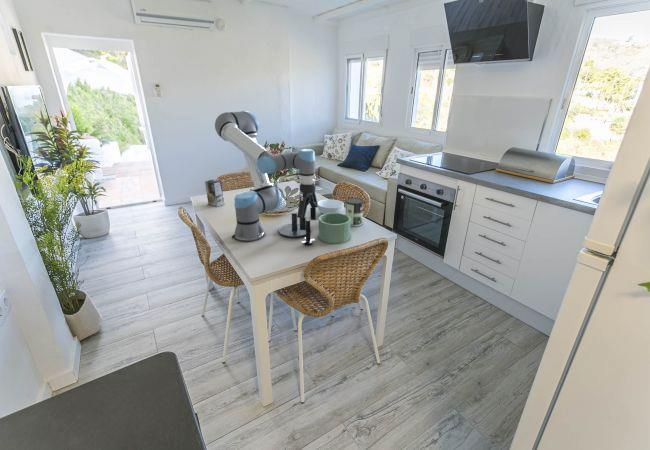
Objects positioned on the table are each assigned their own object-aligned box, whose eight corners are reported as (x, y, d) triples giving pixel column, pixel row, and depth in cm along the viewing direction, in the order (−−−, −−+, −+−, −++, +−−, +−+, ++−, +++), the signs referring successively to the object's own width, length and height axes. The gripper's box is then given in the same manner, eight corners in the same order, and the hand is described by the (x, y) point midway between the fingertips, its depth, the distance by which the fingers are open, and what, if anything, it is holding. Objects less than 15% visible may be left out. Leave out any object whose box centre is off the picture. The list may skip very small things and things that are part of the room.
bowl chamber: (327, 245, 158) (327, 226, 154) (313, 233, 172) (313, 215, 168) (355, 239, 165) (356, 221, 161) (340, 228, 179) (341, 211, 175)
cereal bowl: (342, 219, 191) (342, 208, 188) (315, 217, 193) (315, 206, 190) (344, 209, 206) (345, 199, 204) (319, 208, 209) (319, 198, 206)
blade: (304, 247, 156) (303, 223, 151) (299, 242, 162) (298, 218, 157) (317, 245, 159) (317, 221, 154) (311, 239, 165) (311, 216, 160)
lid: (284, 240, 163) (284, 220, 159) (274, 228, 178) (273, 209, 174) (315, 234, 170) (315, 215, 166) (303, 223, 185) (303, 205, 181)
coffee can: (362, 220, 190) (364, 198, 184) (361, 227, 181) (362, 204, 175) (346, 219, 192) (346, 197, 186) (343, 225, 182) (344, 202, 177)
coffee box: (224, 204, 214) (221, 181, 208) (217, 206, 209) (213, 183, 203) (215, 201, 219) (212, 179, 212) (207, 204, 214) (204, 181, 207)
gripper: (304, 191, 136) (305, 235, 144) (323, 177, 158) (323, 216, 166) (288, 189, 138) (290, 233, 147) (309, 176, 160) (310, 215, 168)
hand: (308, 224), depth 156 cm, fingers open, 13 cm apart
